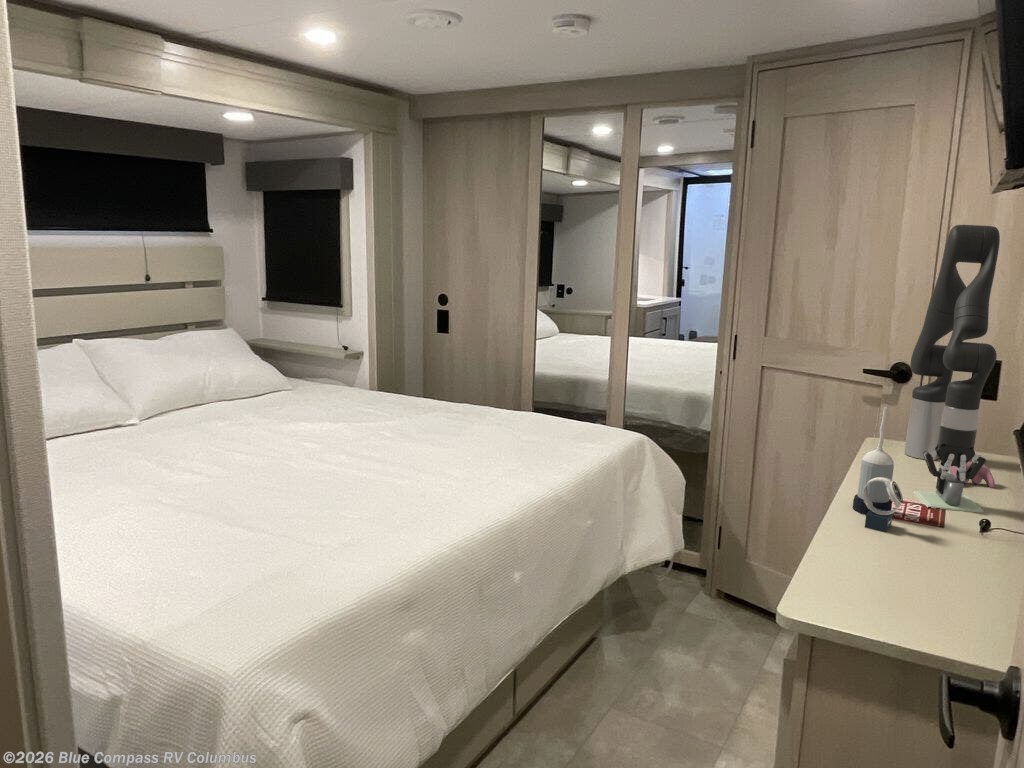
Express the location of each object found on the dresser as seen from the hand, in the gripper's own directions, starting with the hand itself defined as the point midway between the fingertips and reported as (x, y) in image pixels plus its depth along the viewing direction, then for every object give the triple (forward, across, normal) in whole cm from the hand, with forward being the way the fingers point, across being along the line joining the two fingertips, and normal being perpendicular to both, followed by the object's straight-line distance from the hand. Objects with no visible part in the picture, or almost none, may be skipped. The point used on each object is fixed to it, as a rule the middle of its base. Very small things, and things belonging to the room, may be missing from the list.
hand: (948, 493), depth 180 cm
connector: (+1, 0, -1) cm, 1 cm away
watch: (+3, +21, +22) cm, 30 cm away
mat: (+2, 0, 0) cm, 2 cm away
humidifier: (+3, +20, +12) cm, 23 cm away
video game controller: (+3, -11, -17) cm, 21 cm away
